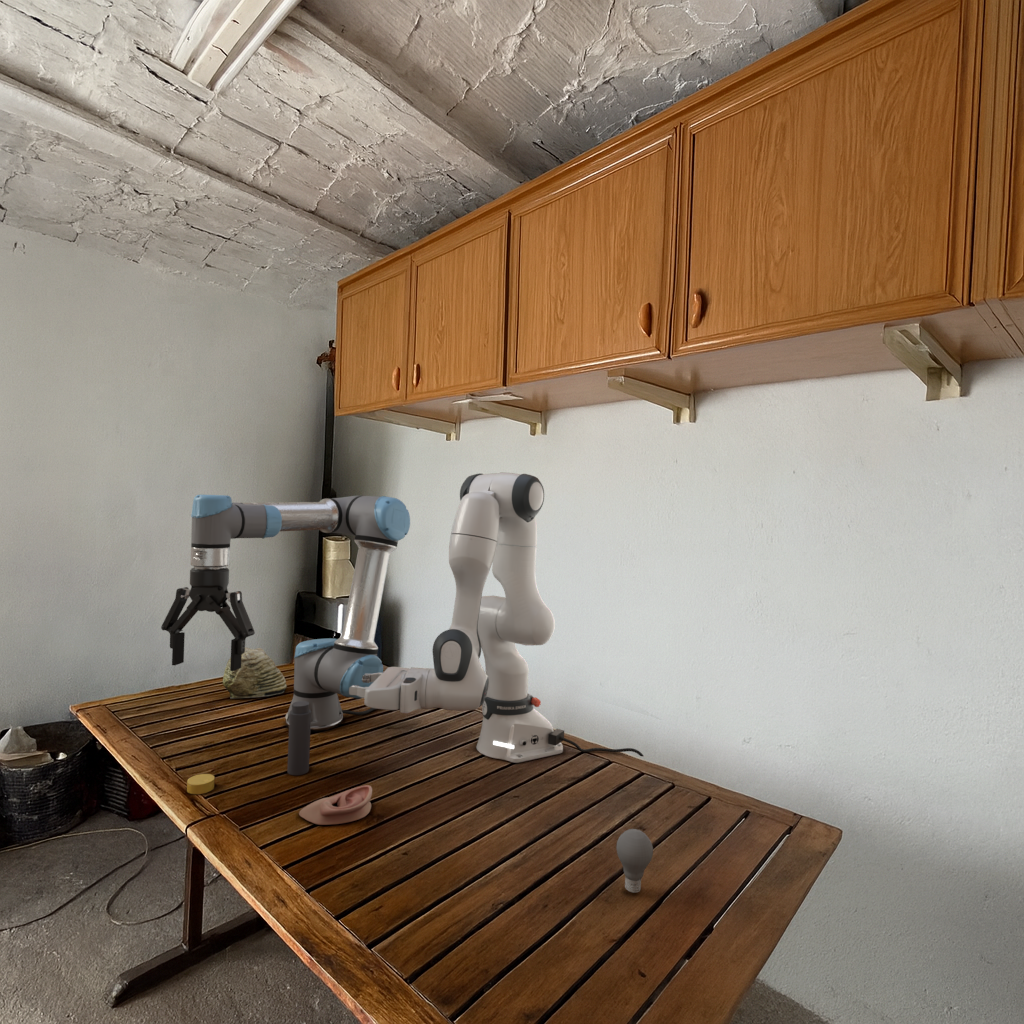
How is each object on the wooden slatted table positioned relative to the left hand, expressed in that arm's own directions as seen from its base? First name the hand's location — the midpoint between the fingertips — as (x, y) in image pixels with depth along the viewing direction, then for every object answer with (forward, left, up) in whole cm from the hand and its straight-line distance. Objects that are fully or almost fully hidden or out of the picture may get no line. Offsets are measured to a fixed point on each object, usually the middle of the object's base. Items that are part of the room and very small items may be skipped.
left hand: (206, 666), depth 135 cm
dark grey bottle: (-19, +7, -26) cm, 33 cm away
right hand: (-26, +18, -5) cm, 32 cm away
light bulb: (-31, +86, -26) cm, 95 cm away
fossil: (-40, -50, -26) cm, 69 cm away
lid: (0, 0, -24) cm, 24 cm away
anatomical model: (-13, +29, -26) cm, 41 cm away
